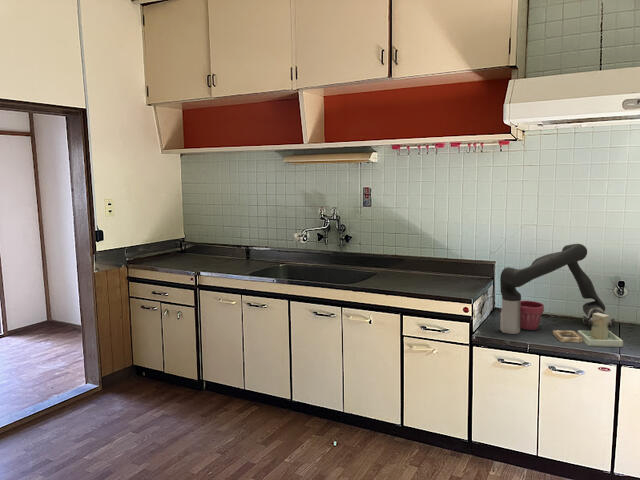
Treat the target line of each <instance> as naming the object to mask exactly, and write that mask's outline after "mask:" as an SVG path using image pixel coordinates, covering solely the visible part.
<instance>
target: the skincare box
mask: <svg viewBox="0 0 640 480" xmlns="http://www.w3.org/2000/svg"><path fill="white" fill-rule="evenodd" d="M609 320H610V315H609V314H602V313H593V314H592V327H591V330H590V331H591V338H594V339H597V340H608V331H609Z"/></svg>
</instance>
